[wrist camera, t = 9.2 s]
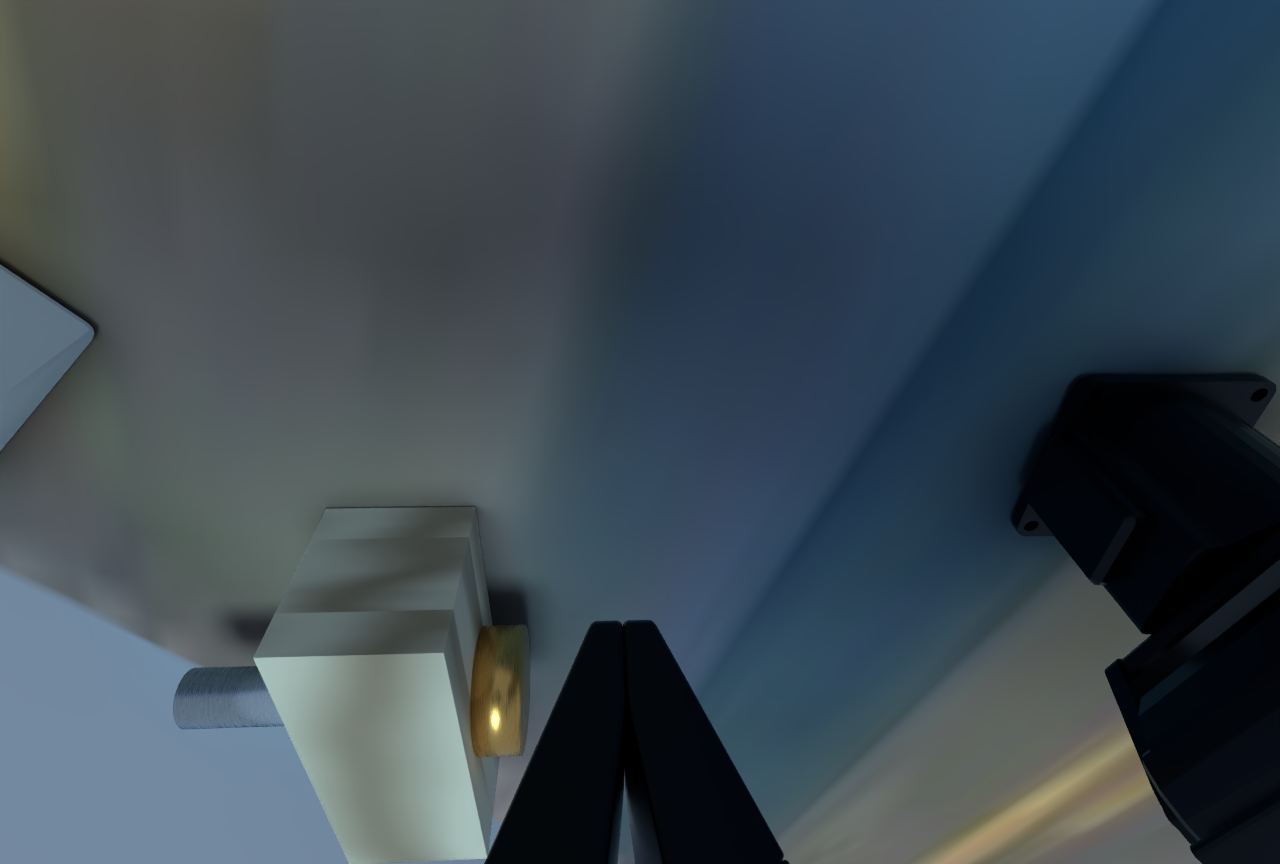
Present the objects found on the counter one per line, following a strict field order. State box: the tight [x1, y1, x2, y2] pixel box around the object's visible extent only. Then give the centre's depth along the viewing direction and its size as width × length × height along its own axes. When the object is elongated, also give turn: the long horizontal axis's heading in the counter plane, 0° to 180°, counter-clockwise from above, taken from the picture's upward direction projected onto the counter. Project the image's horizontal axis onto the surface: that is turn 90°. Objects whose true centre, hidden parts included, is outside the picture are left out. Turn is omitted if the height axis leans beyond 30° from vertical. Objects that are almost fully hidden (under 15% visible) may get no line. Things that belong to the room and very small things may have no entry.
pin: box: [173, 624, 530, 758], centre depth 24 cm, size 12×4×4 cm, turn 88°
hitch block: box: [253, 507, 499, 864], centre depth 24 cm, size 5×12×6 cm, turn 179°
